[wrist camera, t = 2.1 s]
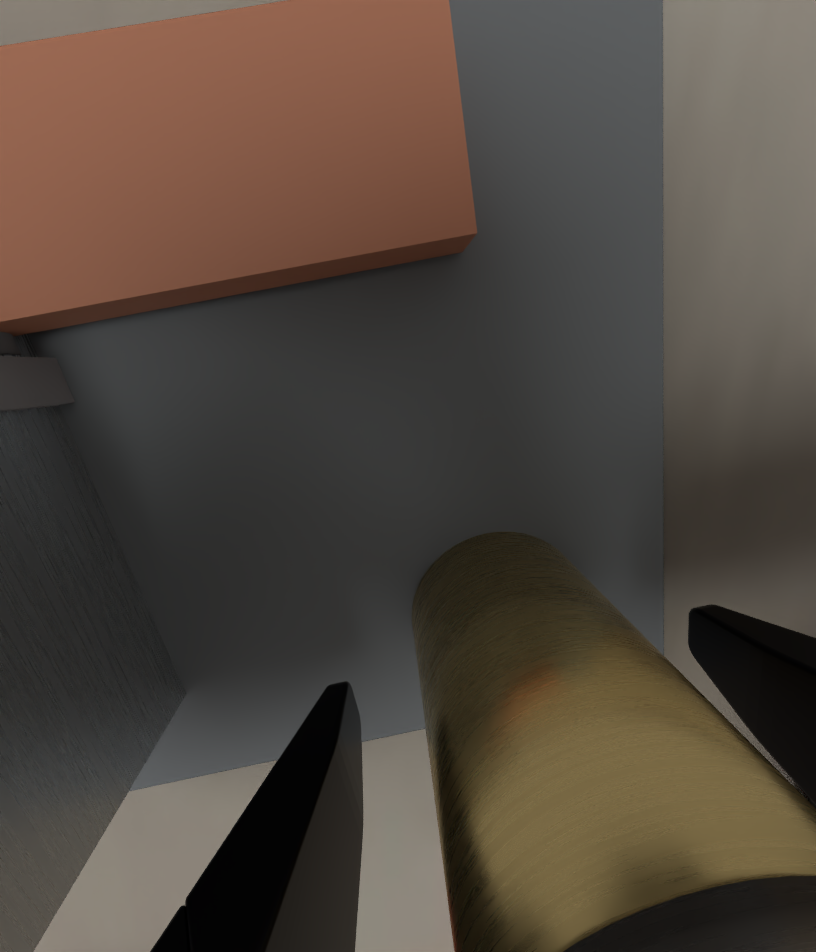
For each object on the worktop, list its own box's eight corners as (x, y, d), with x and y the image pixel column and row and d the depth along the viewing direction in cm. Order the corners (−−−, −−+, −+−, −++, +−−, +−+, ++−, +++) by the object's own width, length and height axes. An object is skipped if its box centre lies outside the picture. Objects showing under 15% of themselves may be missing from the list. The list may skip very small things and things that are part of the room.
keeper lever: (-39, 368, 7) (-140, 368, 5) (-163, 121, 6) (-326, 45, 4) (461, 273, 7) (483, 250, 6) (428, 25, 6) (444, -72, 5)
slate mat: (644, -74, 6) (782, -305, 4) (653, 666, 10) (723, 743, 8) (-764, 184, 6) (-1407, 82, 4) (-174, 840, 10) (-323, 967, 8)
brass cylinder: (576, 512, 8) (1356, 1078, 2) (588, 664, 10) (1083, 1362, 3) (393, 550, 8) (450, 1292, 2) (426, 698, 9) (540, 1499, 3)
